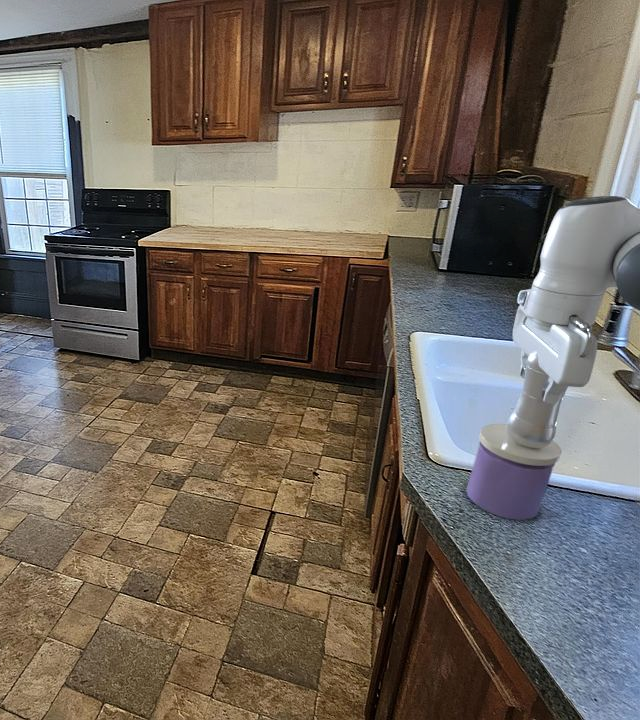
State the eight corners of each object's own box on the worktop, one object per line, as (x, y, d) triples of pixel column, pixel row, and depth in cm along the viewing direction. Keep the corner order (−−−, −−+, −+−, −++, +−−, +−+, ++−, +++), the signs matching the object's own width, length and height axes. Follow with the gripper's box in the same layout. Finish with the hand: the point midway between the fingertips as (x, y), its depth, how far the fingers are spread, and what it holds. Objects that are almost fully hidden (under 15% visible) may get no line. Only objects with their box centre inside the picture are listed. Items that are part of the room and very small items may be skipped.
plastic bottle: (504, 429, 93) (536, 320, 85) (550, 440, 89) (588, 328, 82) (501, 444, 88) (535, 331, 80) (550, 457, 84) (590, 340, 77)
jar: (525, 485, 98) (544, 428, 93) (551, 526, 87) (574, 464, 83) (457, 476, 100) (472, 419, 96) (474, 514, 90) (492, 453, 85)
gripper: (622, 330, 70) (589, 421, 75) (557, 291, 88) (534, 367, 94) (567, 326, 72) (539, 416, 77) (515, 289, 90) (495, 363, 95)
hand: (536, 389), depth 85 cm, fingers open, 8 cm apart
